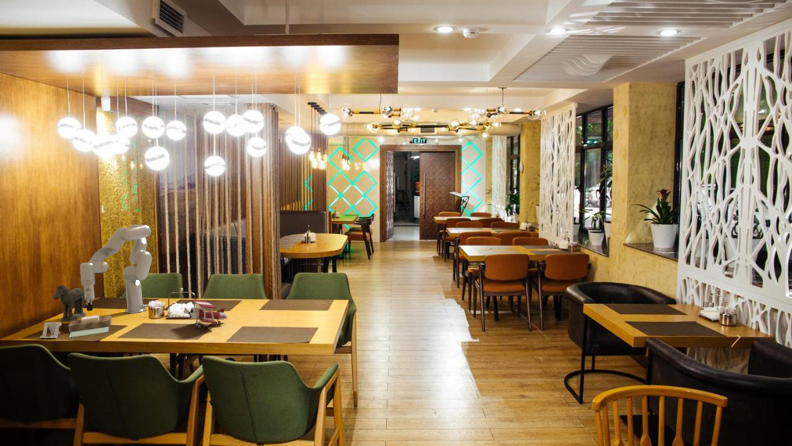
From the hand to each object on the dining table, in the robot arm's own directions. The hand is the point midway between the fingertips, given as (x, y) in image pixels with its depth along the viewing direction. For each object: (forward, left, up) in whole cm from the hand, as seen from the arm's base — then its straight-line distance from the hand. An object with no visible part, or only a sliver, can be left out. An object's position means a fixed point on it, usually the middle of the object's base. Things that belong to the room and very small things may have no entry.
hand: (89, 310), depth 334 cm
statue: (+13, -17, -9) cm, 24 cm away
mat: (-1, +23, -8) cm, 25 cm away
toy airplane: (-66, +49, -9) cm, 82 cm away
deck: (-1, +10, -8) cm, 13 cm away
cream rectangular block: (-1, +10, -4) cm, 10 cm away
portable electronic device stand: (+18, +22, -9) cm, 30 cm away
